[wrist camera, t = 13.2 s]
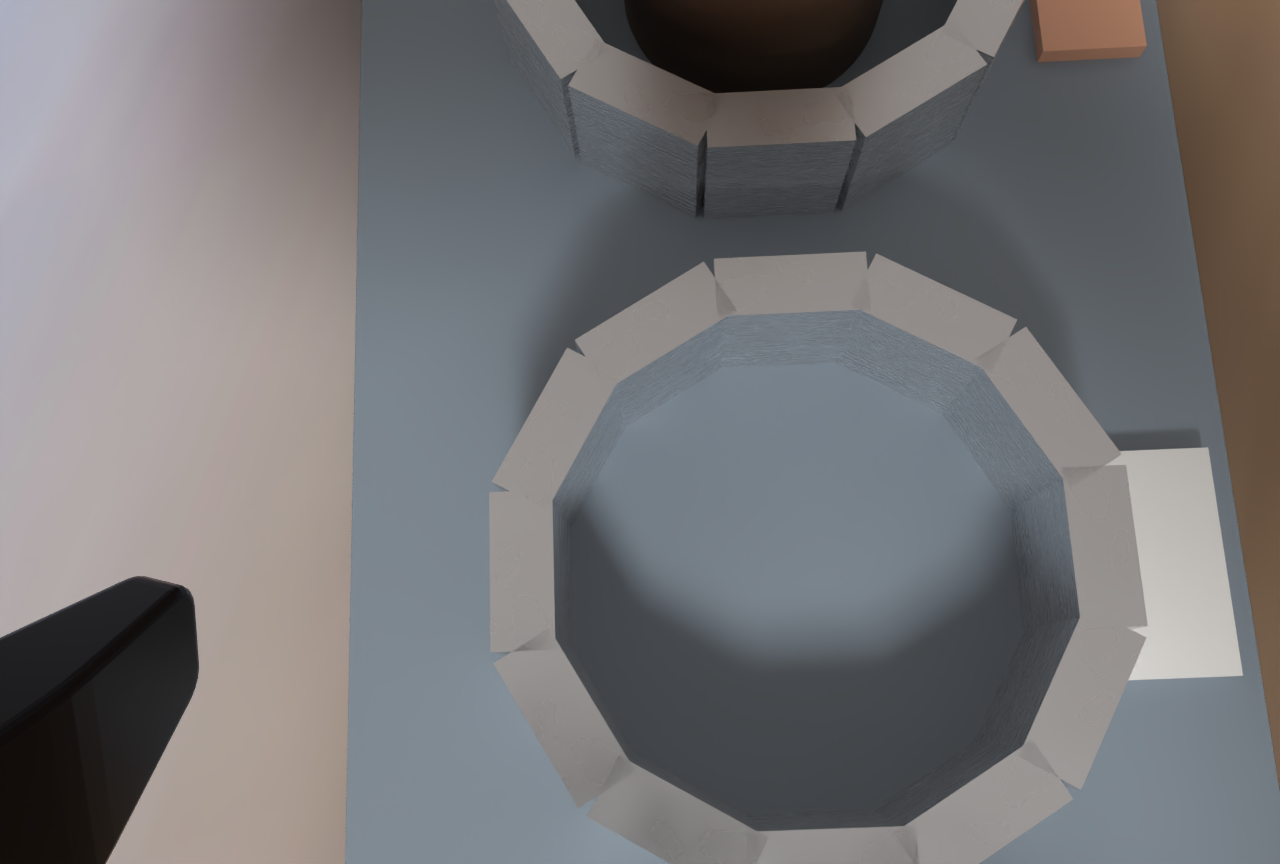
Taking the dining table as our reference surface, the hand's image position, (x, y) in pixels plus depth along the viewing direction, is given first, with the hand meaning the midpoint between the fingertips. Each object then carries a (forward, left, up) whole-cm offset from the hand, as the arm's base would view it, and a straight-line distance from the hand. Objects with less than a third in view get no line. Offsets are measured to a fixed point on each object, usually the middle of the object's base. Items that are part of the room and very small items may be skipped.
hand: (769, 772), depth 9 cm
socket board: (+6, -6, -13) cm, 16 cm away
